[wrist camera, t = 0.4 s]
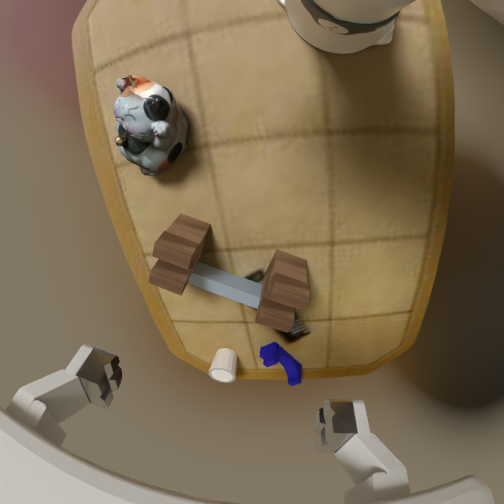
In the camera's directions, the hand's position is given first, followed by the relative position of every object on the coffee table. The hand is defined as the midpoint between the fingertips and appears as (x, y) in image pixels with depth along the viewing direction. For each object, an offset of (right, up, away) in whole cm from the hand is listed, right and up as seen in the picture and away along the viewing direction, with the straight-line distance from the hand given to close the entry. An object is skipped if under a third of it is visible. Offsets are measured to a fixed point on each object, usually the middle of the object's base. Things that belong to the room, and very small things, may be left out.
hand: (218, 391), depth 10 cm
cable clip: (+9, -21, +60) cm, 64 cm away
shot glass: (-5, -22, +62) cm, 66 cm away
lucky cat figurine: (-15, +28, +33) cm, 45 cm away
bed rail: (-4, 0, +48) cm, 48 cm away
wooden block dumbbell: (-1, +5, +44) cm, 45 cm away
